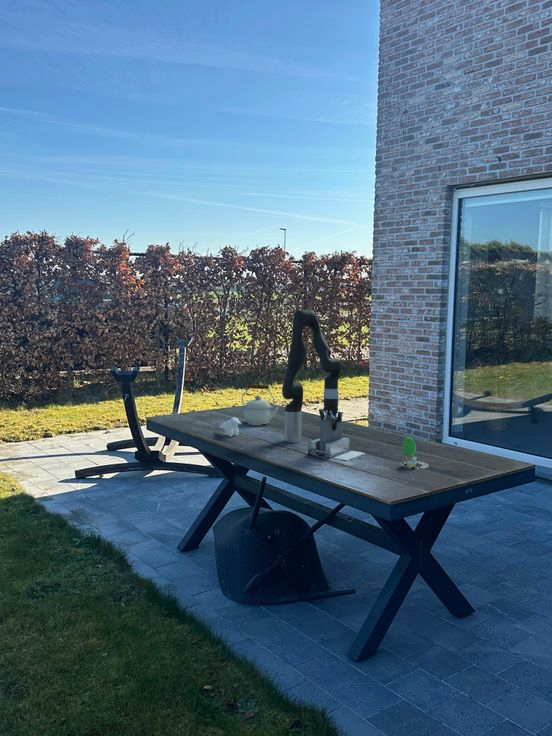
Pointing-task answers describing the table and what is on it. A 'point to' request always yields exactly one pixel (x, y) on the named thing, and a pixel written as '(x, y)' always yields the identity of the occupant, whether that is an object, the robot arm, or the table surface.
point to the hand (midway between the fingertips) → (330, 429)
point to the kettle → (258, 408)
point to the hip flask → (329, 432)
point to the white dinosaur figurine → (231, 427)
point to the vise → (329, 447)
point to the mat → (349, 455)
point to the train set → (410, 453)
